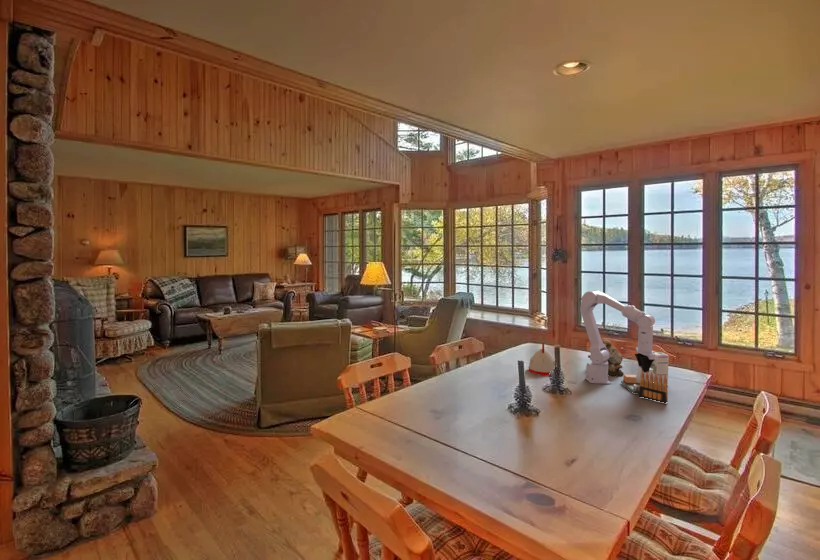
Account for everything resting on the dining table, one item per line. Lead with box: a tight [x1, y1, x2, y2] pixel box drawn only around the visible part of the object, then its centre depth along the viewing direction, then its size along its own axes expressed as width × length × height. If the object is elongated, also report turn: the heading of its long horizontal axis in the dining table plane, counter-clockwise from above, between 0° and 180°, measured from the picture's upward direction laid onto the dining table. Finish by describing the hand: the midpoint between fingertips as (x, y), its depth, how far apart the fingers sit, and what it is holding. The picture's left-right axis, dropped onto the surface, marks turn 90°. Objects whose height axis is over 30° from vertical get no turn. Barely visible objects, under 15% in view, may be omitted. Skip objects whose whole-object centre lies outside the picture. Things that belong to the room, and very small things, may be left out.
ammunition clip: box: [638, 371, 668, 403], centre depth 176 cm, size 11×2×12 cm, turn 39°
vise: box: [620, 380, 640, 395], centre depth 191 cm, size 12×14×4 cm
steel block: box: [635, 365, 653, 383], centre depth 188 cm, size 5×3×7 cm, turn 84°
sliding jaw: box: [622, 374, 640, 384], centre depth 196 cm, size 10×4×3 cm, turn 84°
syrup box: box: [650, 351, 670, 384], centre depth 198 cm, size 6×6×14 cm
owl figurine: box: [587, 339, 624, 377], centre depth 216 cm, size 18×12×17 cm, turn 42°
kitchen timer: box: [528, 342, 556, 376], centre depth 218 cm, size 14×14×15 cm
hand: (643, 371), depth 188 cm, fingers closed on steel block, 3 cm apart
